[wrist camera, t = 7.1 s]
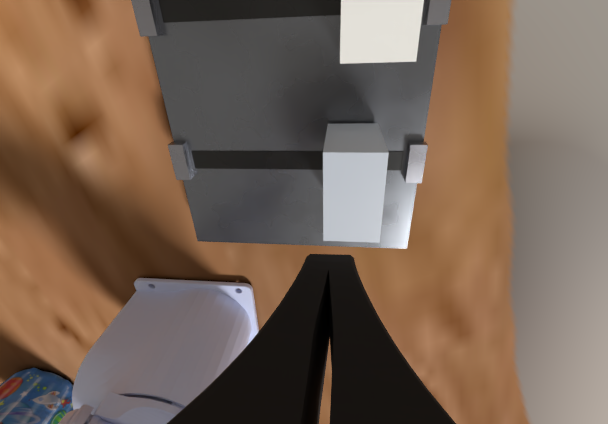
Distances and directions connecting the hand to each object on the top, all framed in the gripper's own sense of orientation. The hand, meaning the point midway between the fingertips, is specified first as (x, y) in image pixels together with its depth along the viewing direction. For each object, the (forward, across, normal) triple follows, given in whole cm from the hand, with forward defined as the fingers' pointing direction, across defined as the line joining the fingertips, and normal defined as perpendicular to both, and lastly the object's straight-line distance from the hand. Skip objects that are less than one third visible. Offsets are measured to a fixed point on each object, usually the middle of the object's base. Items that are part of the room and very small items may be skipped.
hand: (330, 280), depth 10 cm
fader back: (+8, -1, -1) cm, 8 cm away
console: (+10, +2, -4) cm, 11 cm away
